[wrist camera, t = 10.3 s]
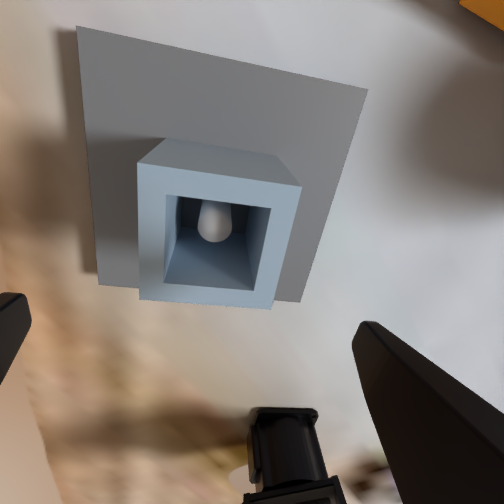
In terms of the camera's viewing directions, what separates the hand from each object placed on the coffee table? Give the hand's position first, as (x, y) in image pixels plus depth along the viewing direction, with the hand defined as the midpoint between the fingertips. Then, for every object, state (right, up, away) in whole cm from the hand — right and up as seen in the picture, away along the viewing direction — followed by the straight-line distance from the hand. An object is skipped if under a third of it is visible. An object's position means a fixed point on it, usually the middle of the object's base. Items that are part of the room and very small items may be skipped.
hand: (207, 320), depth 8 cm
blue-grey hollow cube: (-1, +5, +9) cm, 11 cm away
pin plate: (-1, +6, +10) cm, 12 cm away
